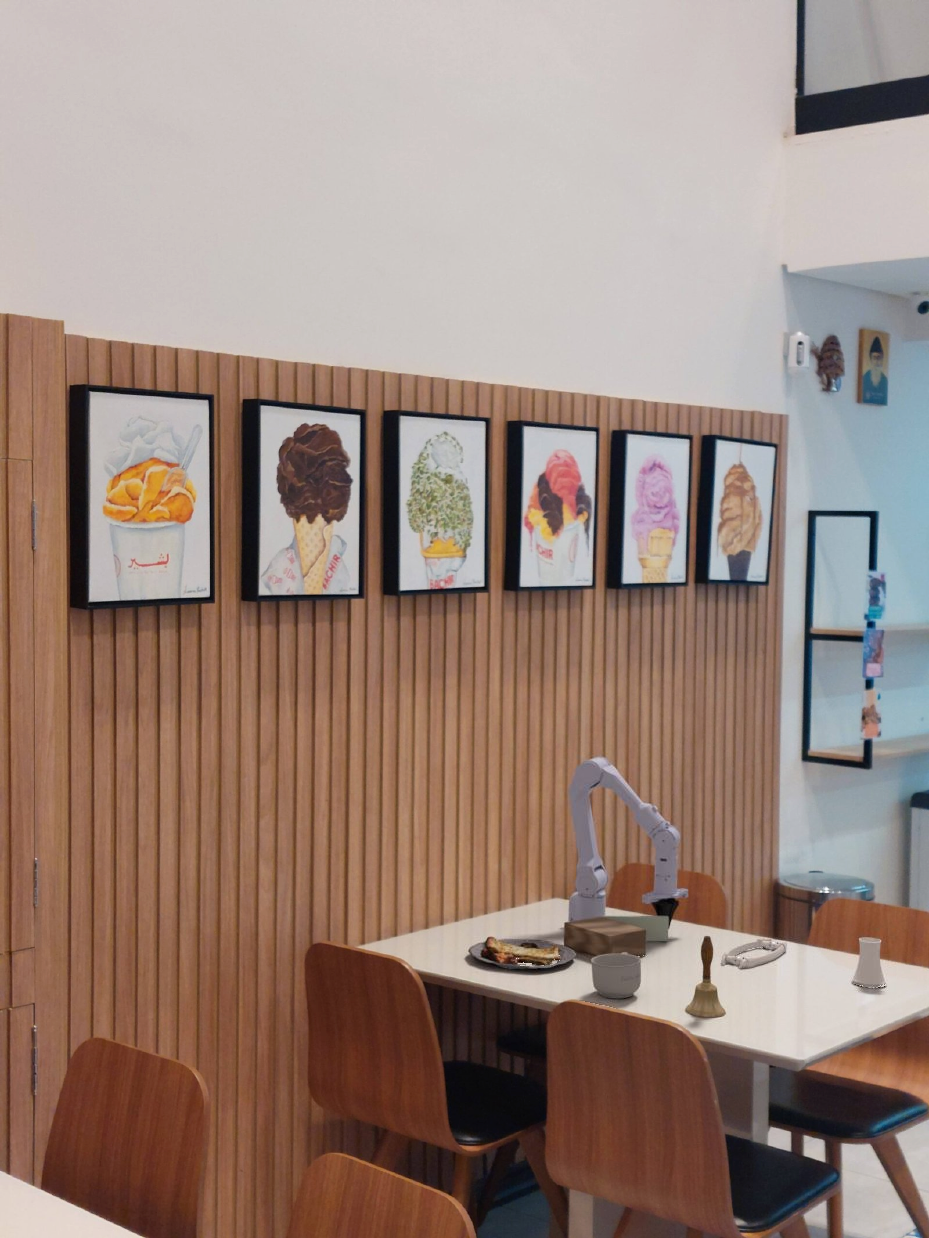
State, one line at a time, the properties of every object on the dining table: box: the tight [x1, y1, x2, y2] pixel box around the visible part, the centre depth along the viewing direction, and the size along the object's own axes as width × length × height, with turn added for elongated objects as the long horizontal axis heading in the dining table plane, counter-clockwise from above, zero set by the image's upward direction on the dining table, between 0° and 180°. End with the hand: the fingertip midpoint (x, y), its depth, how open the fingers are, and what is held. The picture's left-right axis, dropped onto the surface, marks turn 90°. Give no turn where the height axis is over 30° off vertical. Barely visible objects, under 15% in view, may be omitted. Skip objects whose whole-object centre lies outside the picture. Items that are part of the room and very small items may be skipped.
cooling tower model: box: [851, 936, 887, 989], centre depth 324 cm, size 8×8×10 cm
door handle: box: [721, 937, 788, 970], centre depth 345 cm, size 3×10×25 cm
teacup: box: [590, 952, 642, 999], centre depth 312 cm, size 14×11×8 cm
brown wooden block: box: [563, 916, 647, 959], centre depth 346 cm, size 16×12×6 cm
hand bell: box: [685, 935, 726, 1019], centre depth 300 cm, size 8×8×16 cm
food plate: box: [468, 936, 577, 971], centre depth 338 cm, size 25×23×4 cm
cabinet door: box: [604, 914, 669, 942], centre depth 358 cm, size 17×2×6 cm, turn 92°
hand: (664, 928), depth 361 cm, fingers closed
